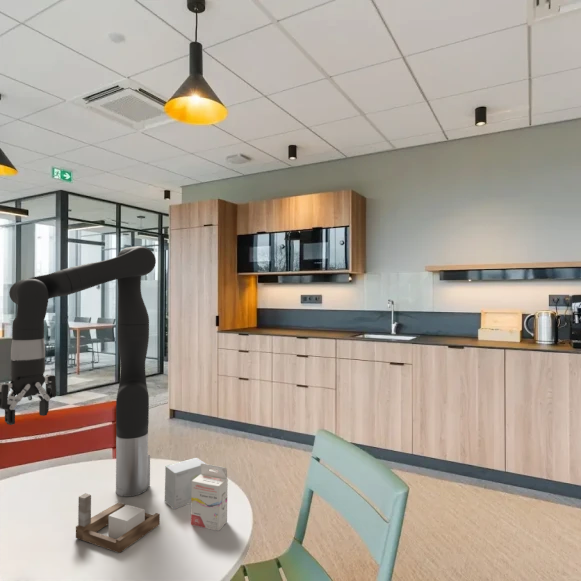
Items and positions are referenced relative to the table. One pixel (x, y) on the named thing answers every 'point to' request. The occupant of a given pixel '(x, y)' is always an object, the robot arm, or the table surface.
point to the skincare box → (181, 481)
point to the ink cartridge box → (209, 498)
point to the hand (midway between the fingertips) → (27, 419)
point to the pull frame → (92, 525)
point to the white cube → (124, 520)
